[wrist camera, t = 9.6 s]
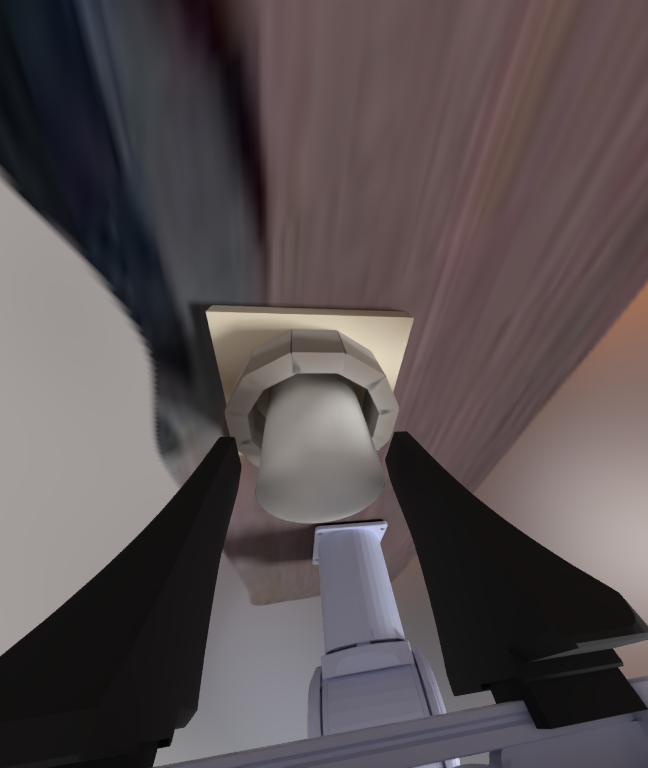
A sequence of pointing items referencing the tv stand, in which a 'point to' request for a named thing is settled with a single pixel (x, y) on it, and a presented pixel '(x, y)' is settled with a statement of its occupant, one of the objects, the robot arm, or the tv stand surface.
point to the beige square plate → (305, 361)
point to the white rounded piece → (316, 451)
